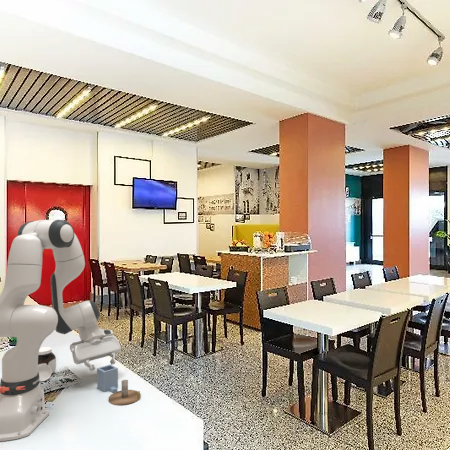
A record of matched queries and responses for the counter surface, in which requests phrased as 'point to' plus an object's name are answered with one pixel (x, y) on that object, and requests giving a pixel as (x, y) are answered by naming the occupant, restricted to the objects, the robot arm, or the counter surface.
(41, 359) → the spread jar
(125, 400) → the post plate
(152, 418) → the counter surface
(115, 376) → the open square bin
